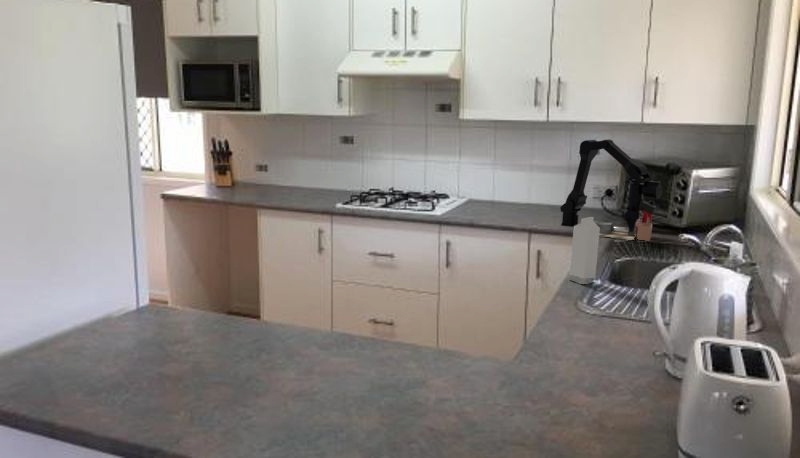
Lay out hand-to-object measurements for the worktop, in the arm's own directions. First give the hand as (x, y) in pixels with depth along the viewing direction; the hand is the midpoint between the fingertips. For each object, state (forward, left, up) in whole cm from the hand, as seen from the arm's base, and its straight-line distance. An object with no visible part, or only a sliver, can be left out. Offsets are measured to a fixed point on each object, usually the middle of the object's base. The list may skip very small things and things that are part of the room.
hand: (631, 230), depth 288 cm
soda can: (+3, +19, -3) cm, 19 cm away
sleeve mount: (-10, 0, -3) cm, 10 cm away
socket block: (+5, 0, -3) cm, 6 cm away
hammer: (-4, 0, -2) cm, 4 cm away
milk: (-7, -73, -3) cm, 73 cm away
